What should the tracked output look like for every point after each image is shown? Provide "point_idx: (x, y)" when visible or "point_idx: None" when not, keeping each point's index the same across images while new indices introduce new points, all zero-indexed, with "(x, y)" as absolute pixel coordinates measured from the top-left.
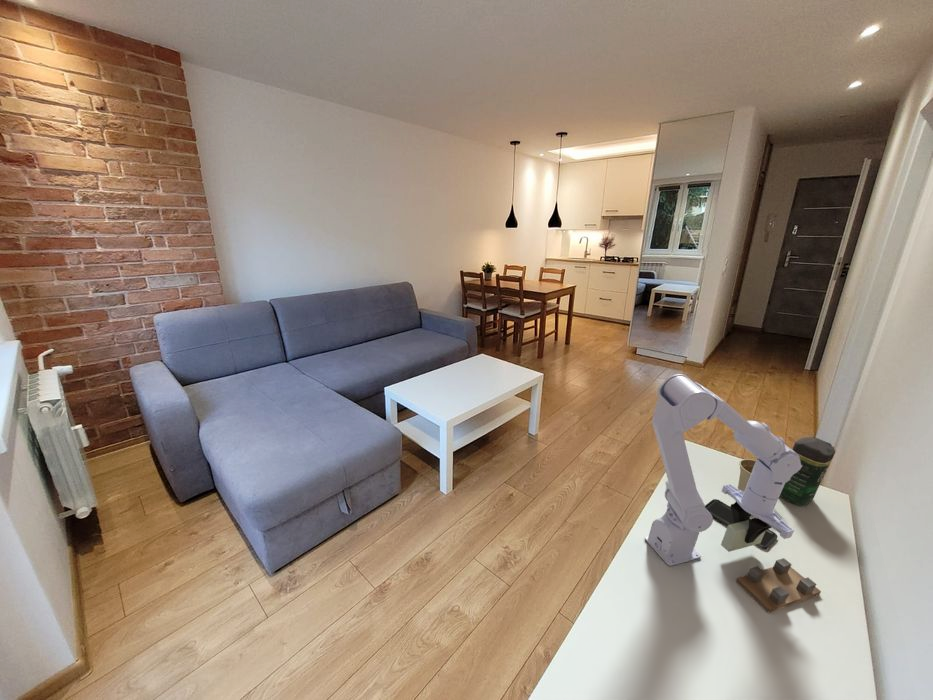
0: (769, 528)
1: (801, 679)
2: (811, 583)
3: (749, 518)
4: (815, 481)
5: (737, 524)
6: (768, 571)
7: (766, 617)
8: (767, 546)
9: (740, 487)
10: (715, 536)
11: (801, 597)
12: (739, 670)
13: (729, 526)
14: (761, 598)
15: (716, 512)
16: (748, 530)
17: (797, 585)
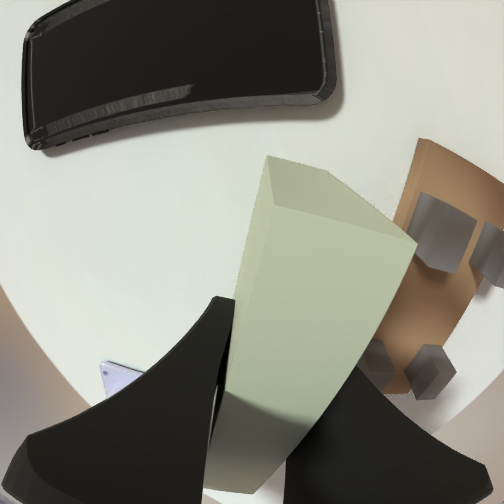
0: (432, 440)
1: (441, 420)
2: None
3: (214, 392)
4: None
5: (216, 470)
6: None
7: (399, 394)
8: (333, 81)
9: None
10: (154, 251)
11: (477, 284)
12: None
13: (207, 487)
14: (388, 388)
15: (61, 97)
16: (289, 463)
17: (477, 269)
